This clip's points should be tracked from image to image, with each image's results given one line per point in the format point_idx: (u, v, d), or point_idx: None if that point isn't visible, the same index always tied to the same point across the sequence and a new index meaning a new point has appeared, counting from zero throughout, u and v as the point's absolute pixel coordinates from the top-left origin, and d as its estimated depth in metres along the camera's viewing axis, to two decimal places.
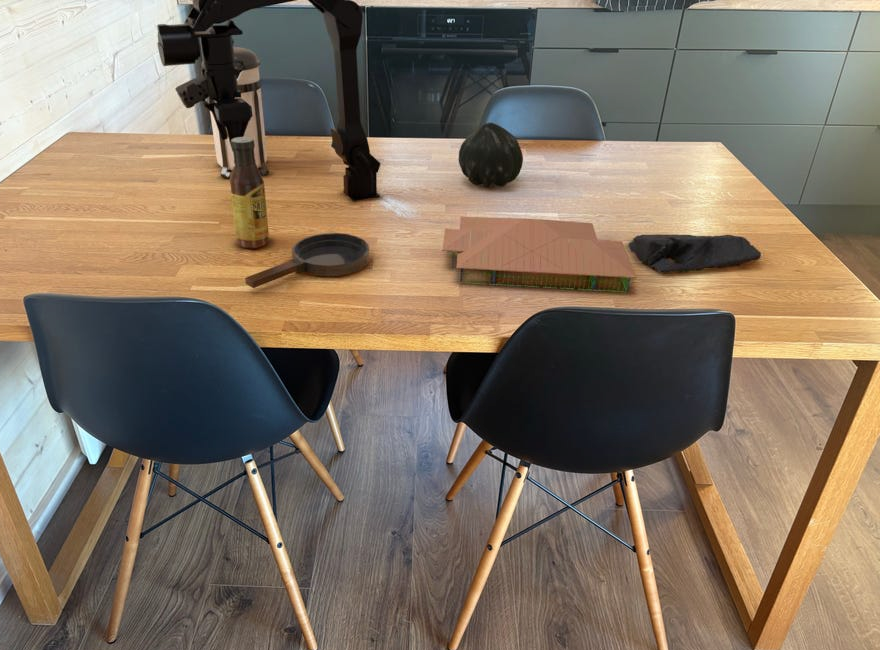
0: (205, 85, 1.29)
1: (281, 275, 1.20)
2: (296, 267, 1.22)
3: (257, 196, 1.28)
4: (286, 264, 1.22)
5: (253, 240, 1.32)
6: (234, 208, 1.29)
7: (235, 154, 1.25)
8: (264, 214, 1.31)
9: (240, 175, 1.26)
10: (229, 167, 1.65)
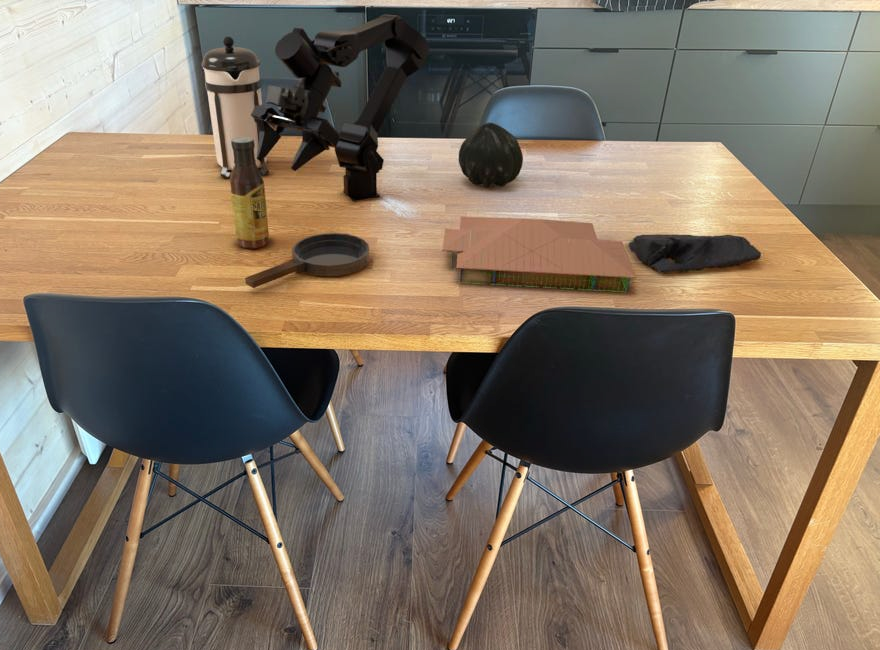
0: None
1: (281, 275, 1.20)
2: (296, 267, 1.22)
3: (257, 196, 1.28)
4: (286, 264, 1.22)
5: (253, 240, 1.32)
6: (234, 208, 1.29)
7: (235, 154, 1.25)
8: (264, 214, 1.31)
9: (240, 175, 1.26)
10: (229, 167, 1.65)
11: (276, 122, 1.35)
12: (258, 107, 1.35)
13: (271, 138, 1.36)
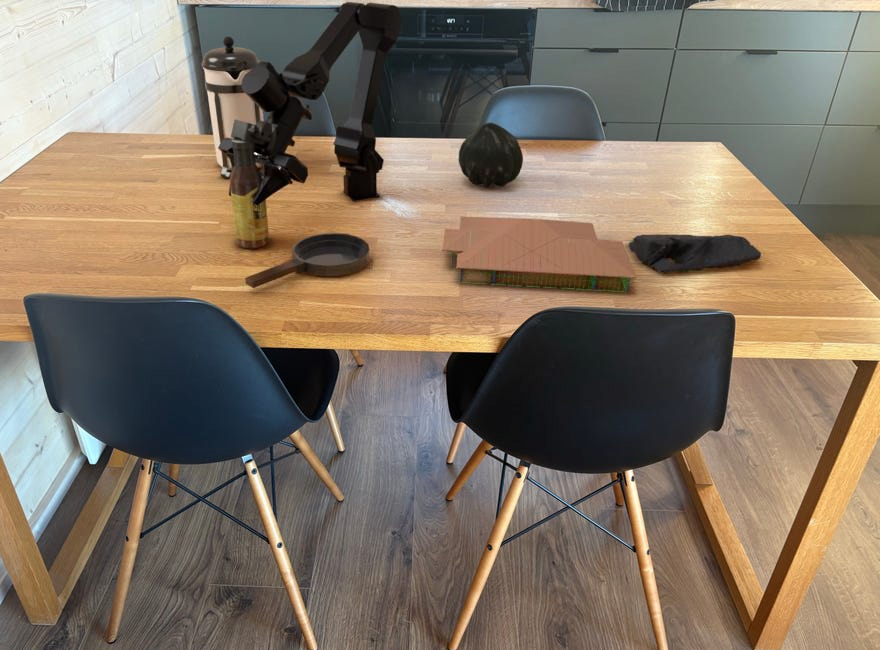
0: None
1: (281, 275, 1.20)
2: (296, 267, 1.22)
3: None
4: (286, 264, 1.22)
5: (253, 240, 1.32)
6: (234, 208, 1.29)
7: (236, 155, 1.25)
8: (264, 214, 1.31)
9: (241, 176, 1.26)
10: (229, 167, 1.65)
11: None
12: (225, 140, 1.31)
13: None
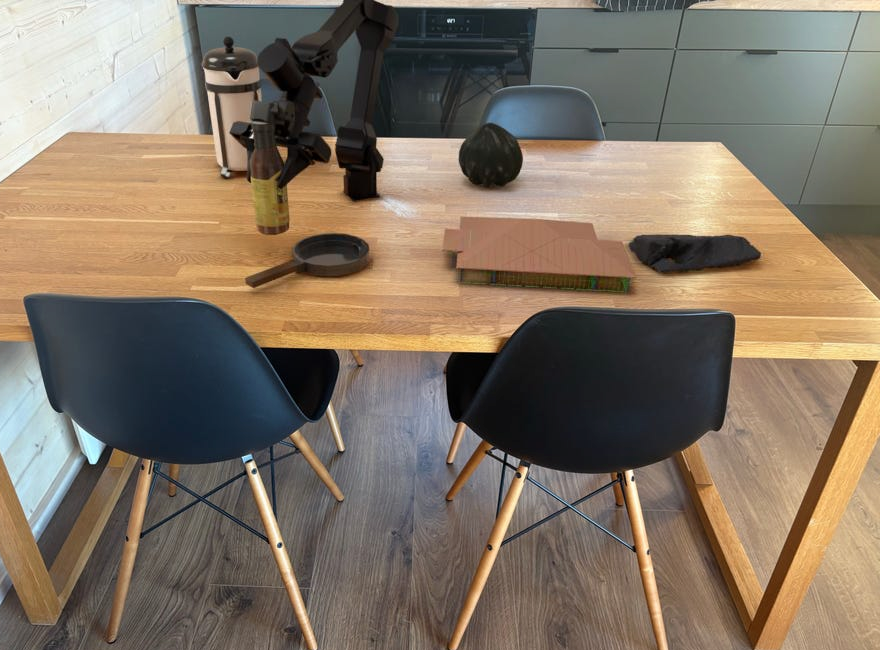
0: None
1: (281, 275, 1.20)
2: (296, 267, 1.22)
3: None
4: (286, 264, 1.22)
5: (277, 226, 1.27)
6: (256, 194, 1.24)
7: (257, 137, 1.20)
8: (286, 198, 1.26)
9: (264, 159, 1.21)
10: (229, 167, 1.65)
11: None
12: (237, 124, 1.25)
13: None
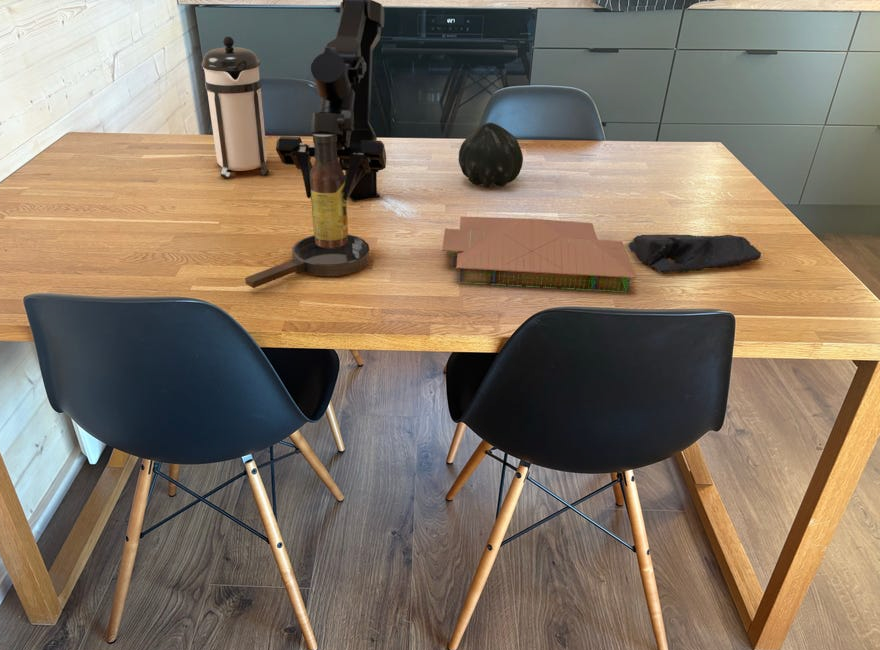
0: None
1: (281, 275, 1.20)
2: (296, 267, 1.22)
3: None
4: (286, 264, 1.22)
5: (341, 239, 1.24)
6: (321, 209, 1.21)
7: (322, 150, 1.16)
8: None
9: (330, 171, 1.18)
10: (229, 167, 1.65)
11: (306, 152, 1.23)
12: (284, 139, 1.21)
13: (310, 171, 1.23)
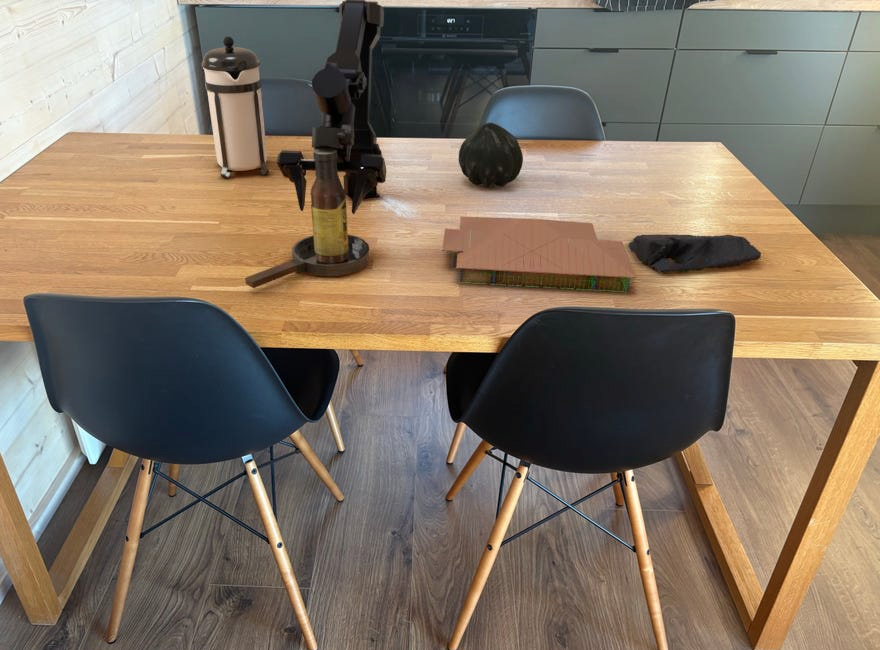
0: None
1: (281, 275, 1.20)
2: (296, 267, 1.22)
3: (345, 207, 1.23)
4: (286, 264, 1.22)
5: (342, 254, 1.26)
6: (322, 225, 1.22)
7: (323, 167, 1.18)
8: None
9: (331, 188, 1.19)
10: (229, 167, 1.65)
11: (307, 166, 1.24)
12: (285, 153, 1.22)
13: (303, 184, 1.24)
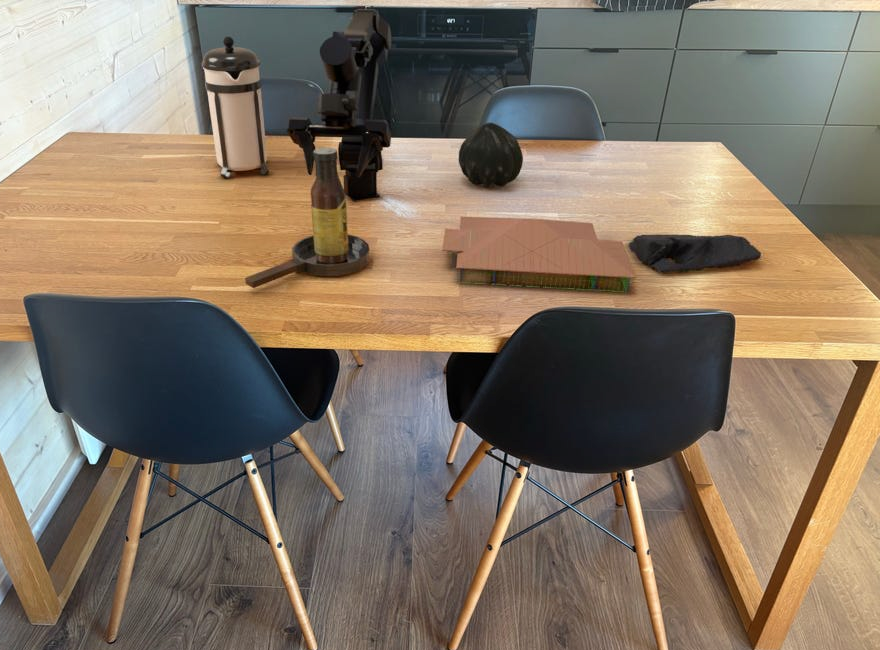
0: None
1: (281, 275, 1.20)
2: (296, 267, 1.22)
3: (345, 207, 1.23)
4: (286, 264, 1.22)
5: (342, 254, 1.26)
6: (322, 225, 1.22)
7: (323, 167, 1.18)
8: None
9: (331, 188, 1.19)
10: (229, 167, 1.65)
11: (315, 132, 1.30)
12: (294, 120, 1.28)
13: (312, 150, 1.30)
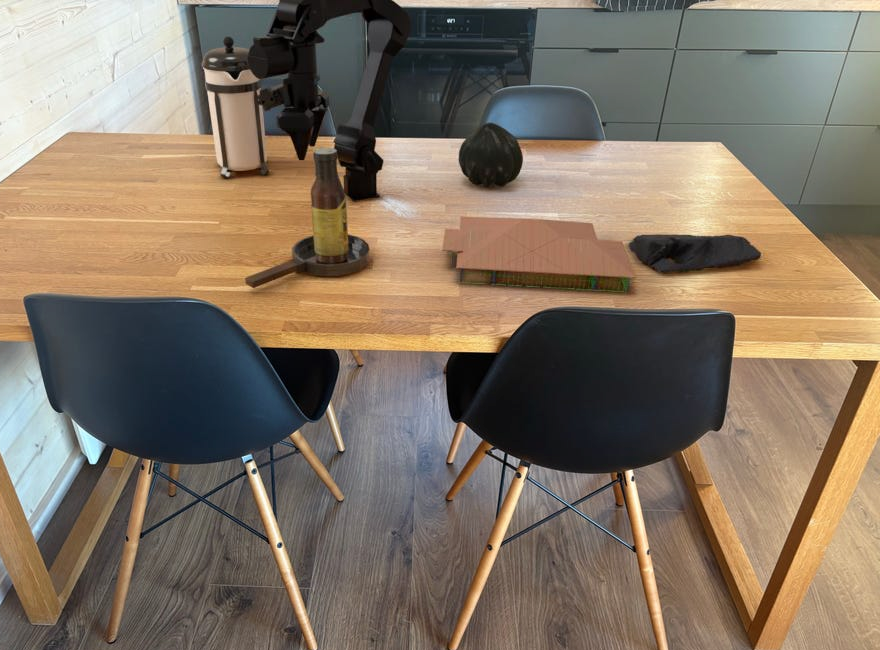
0: (281, 91, 1.32)
1: (281, 275, 1.20)
2: (296, 267, 1.22)
3: (345, 207, 1.23)
4: (286, 264, 1.22)
5: (342, 254, 1.26)
6: (322, 225, 1.22)
7: (323, 167, 1.18)
8: None
9: (331, 188, 1.19)
10: (229, 167, 1.65)
11: None
12: None
13: (314, 121, 1.42)
